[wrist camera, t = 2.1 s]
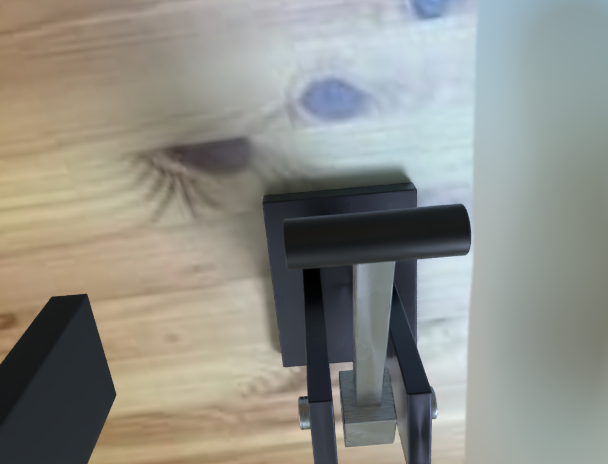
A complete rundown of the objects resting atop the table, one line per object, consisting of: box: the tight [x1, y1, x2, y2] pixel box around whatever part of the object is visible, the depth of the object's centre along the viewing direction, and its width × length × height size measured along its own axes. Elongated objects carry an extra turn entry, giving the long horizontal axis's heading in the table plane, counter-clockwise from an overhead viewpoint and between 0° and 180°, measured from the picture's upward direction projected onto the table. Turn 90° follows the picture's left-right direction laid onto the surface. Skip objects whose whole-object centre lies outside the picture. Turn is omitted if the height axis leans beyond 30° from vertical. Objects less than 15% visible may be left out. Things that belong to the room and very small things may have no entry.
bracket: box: [262, 183, 437, 464], centre depth 29 cm, size 12×9×14 cm
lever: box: [283, 204, 471, 447], centre depth 20 cm, size 14×5×2 cm, turn 5°
